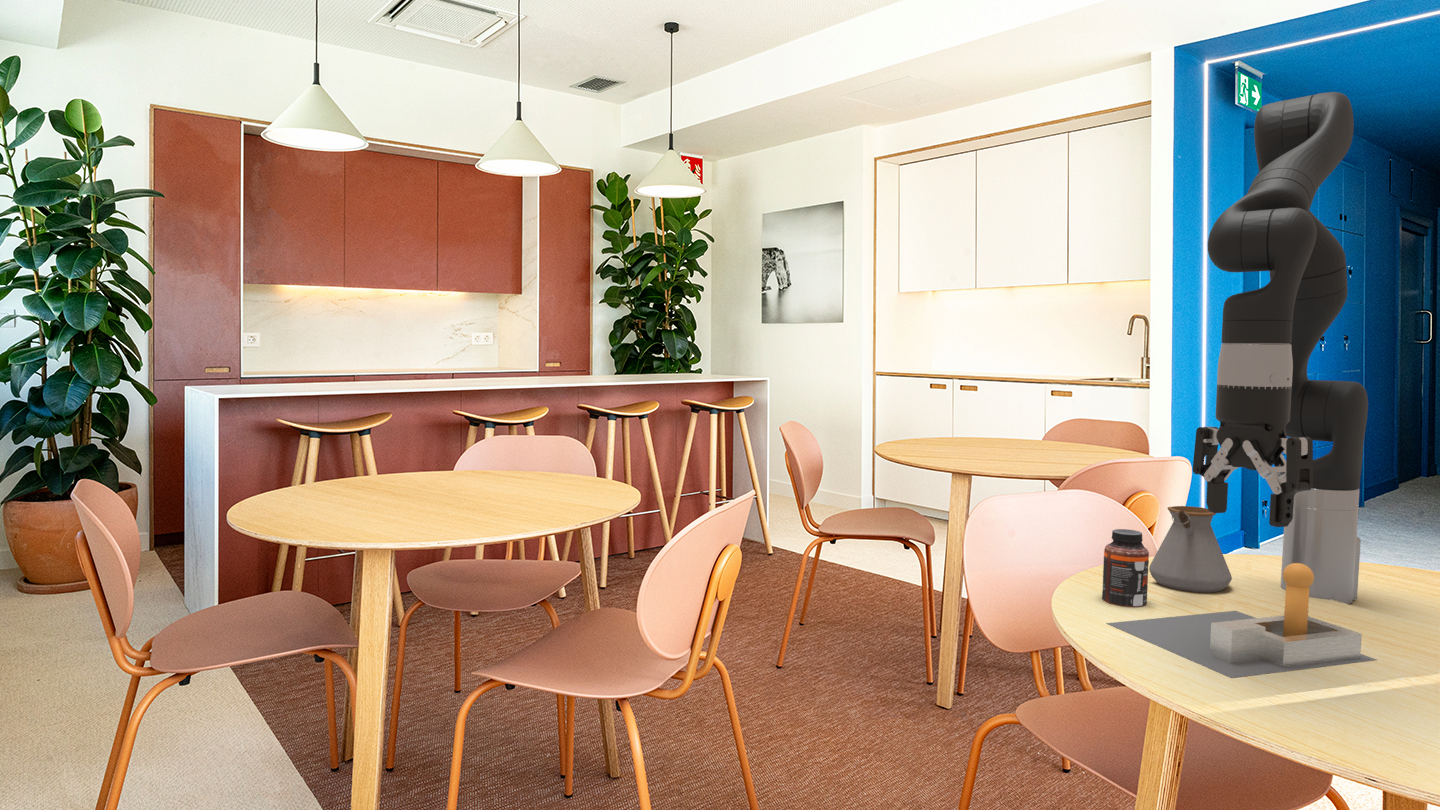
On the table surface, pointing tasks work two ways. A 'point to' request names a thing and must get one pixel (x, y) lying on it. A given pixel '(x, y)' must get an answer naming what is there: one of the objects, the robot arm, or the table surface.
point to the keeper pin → (1296, 598)
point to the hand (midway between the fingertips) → (1246, 519)
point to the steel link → (1282, 642)
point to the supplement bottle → (1125, 570)
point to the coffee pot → (1190, 554)
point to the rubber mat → (1206, 642)
